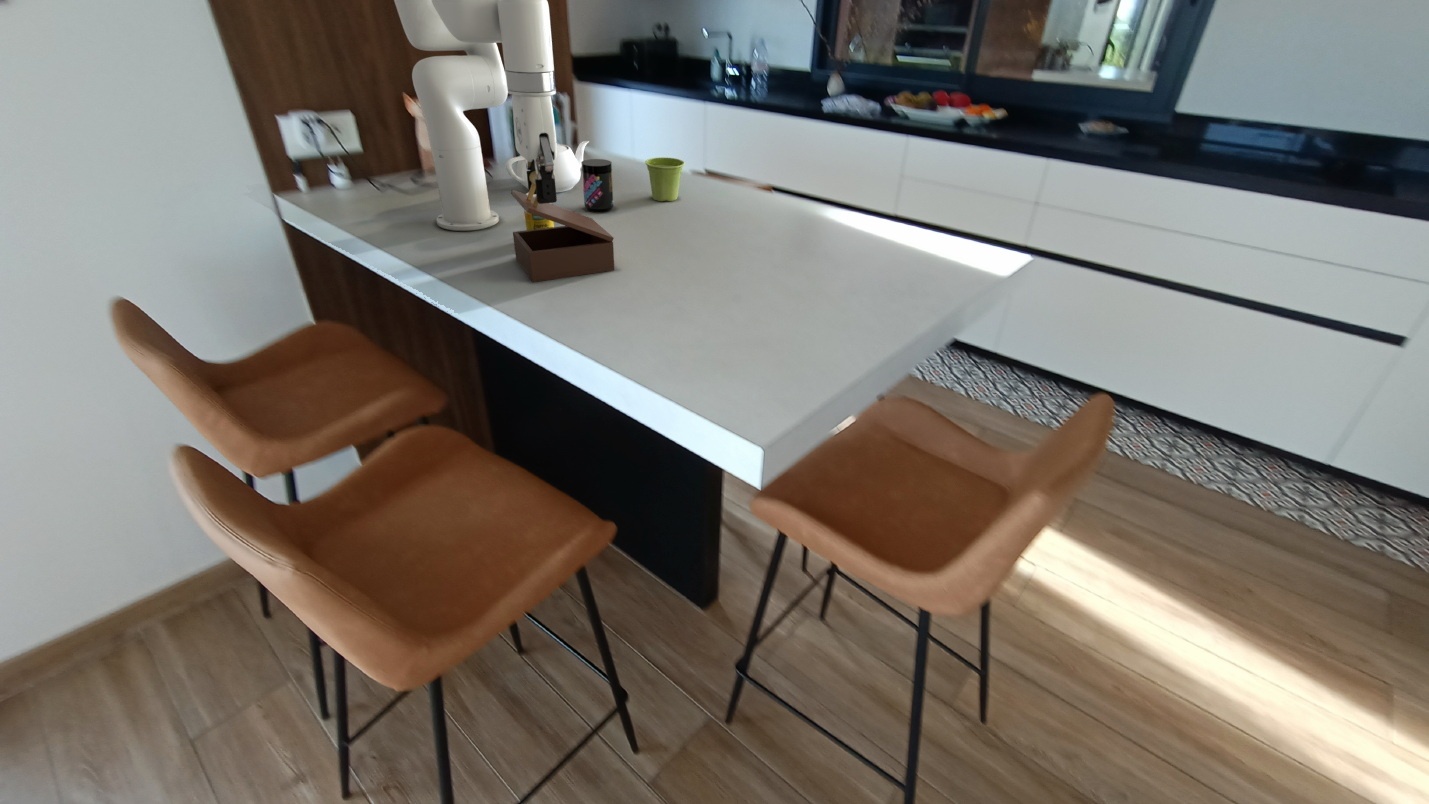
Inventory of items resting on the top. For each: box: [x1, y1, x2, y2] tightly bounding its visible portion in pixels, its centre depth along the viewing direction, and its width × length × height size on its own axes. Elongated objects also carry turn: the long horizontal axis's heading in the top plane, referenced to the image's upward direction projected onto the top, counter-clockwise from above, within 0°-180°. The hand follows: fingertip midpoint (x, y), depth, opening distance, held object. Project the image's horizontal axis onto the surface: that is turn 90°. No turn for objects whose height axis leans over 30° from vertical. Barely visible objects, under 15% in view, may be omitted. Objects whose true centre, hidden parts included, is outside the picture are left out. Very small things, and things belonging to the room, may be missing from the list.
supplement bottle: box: [523, 191, 555, 230], centre depth 130 cm, size 5×5×10 cm
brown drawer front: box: [509, 171, 615, 242], centre depth 117 cm, size 16×12×6 cm
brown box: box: [512, 225, 615, 283], centre depth 121 cm, size 15×12×5 cm
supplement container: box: [581, 158, 614, 214], centre depth 150 cm, size 7×7×10 cm
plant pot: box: [644, 157, 685, 202], centre depth 160 cm, size 9×9×9 cm
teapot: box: [505, 140, 590, 194], centre depth 163 cm, size 25×16×12 cm, turn 139°
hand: (542, 196), depth 115 cm, fingers closed on brown drawer front, 5 cm apart
